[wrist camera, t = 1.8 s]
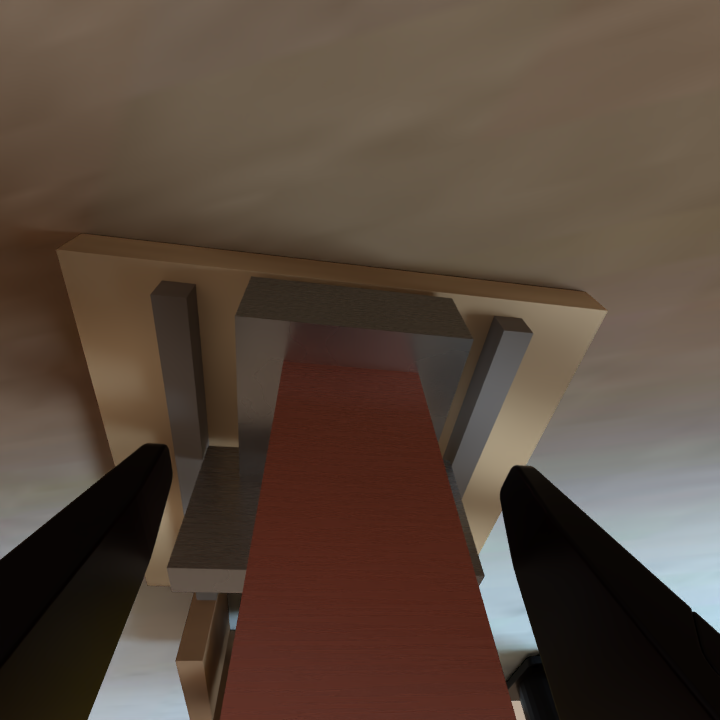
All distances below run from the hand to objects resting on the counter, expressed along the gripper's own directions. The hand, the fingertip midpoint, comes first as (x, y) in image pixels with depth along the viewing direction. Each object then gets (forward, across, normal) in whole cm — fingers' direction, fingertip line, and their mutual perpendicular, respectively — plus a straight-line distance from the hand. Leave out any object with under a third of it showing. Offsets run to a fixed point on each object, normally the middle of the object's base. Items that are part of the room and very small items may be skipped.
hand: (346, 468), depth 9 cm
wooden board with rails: (+5, 0, +5) cm, 7 cm away
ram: (+3, 0, +1) cm, 4 cm away
